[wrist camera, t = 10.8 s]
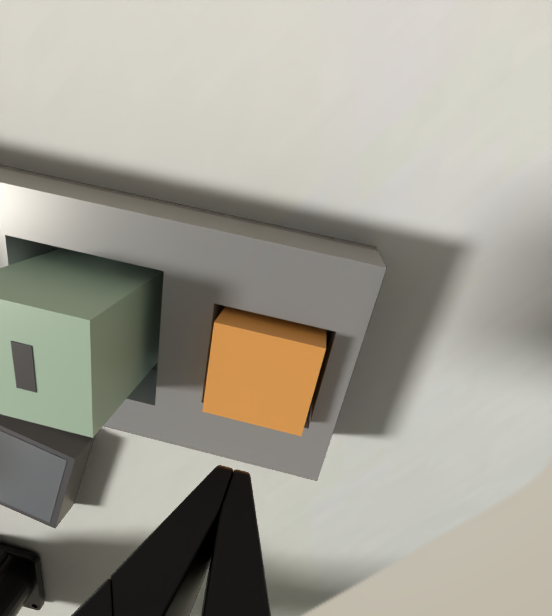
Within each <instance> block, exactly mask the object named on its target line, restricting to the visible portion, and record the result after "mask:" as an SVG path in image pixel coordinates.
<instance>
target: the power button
mask: <svg viewBox="0 0 552 616" xmlns="http://www.w3.org/2000/svg"><path fill="white" fill-rule="evenodd" d="M326 332H327V330H326V329H322V328H318V327H313V326H309V325H305V324H300V323H296V322H292V321H287V320H283V319H279V318H275V317H270V316H266V315H262V314H257V313H253V312H249V311H244V310H240V309H236V308H232V307H227V306H225V308H224V309H223V310H222V312H221V313H220V315H219V316H218V318H217V319H216V320H215V322H214V327H213V334H212V342H211V350H210V357H209V365H208V372H207V380H206V387H205V395H204V403H203V410H202V412H206V413H210V414H214V415H218V416H222V417H226V418H230V419H234V420H238V421H242V422H246V423H250V424H254V425H258V426H262V427H266V428H270V429H274V430H278V431H282V432H286V433H290V434H294V435H298V436H302V432H303V429H304V425H305V422H306V418H307V415H308V411H309V407H310V404H311V400H312V397H313V393H314V390H315V386H316V383H317V379H318V376H319V372H320V368H321V365H322V361H323V358H324V354H325V351H326Z"/></svg>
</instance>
